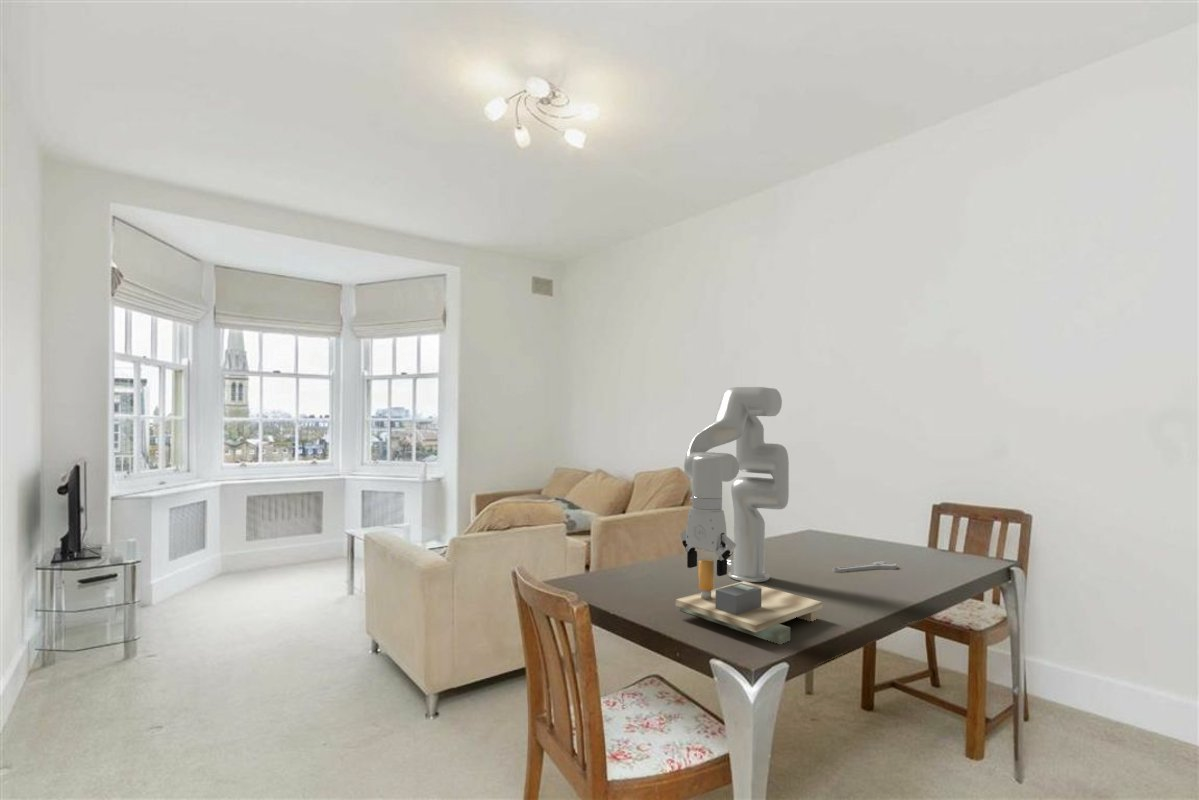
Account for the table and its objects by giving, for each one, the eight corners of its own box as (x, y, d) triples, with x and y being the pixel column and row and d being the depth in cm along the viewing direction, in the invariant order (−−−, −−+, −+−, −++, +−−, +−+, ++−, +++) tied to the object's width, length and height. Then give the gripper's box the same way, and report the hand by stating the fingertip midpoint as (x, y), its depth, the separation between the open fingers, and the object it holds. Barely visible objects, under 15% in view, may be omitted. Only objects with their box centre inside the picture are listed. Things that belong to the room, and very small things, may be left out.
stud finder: (715, 608, 145) (715, 589, 146) (741, 601, 152) (741, 582, 152) (735, 615, 141) (736, 595, 141) (761, 607, 147) (761, 587, 147)
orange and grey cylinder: (695, 597, 154) (695, 560, 154) (705, 594, 157) (705, 558, 157) (707, 601, 151) (707, 563, 151) (716, 598, 154) (716, 560, 154)
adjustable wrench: (836, 574, 199) (836, 569, 199) (824, 569, 206) (824, 564, 206) (899, 570, 206) (899, 564, 206) (886, 565, 212) (886, 560, 212)
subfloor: (666, 614, 155) (666, 596, 155) (734, 594, 173) (734, 578, 173) (767, 650, 132) (767, 629, 132) (833, 623, 150) (833, 604, 150)
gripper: (672, 501, 159) (671, 566, 159) (724, 509, 146) (724, 581, 145) (691, 498, 164) (690, 562, 163) (744, 506, 150) (743, 575, 150)
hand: (706, 571), depth 154 cm, fingers open, 9 cm apart
